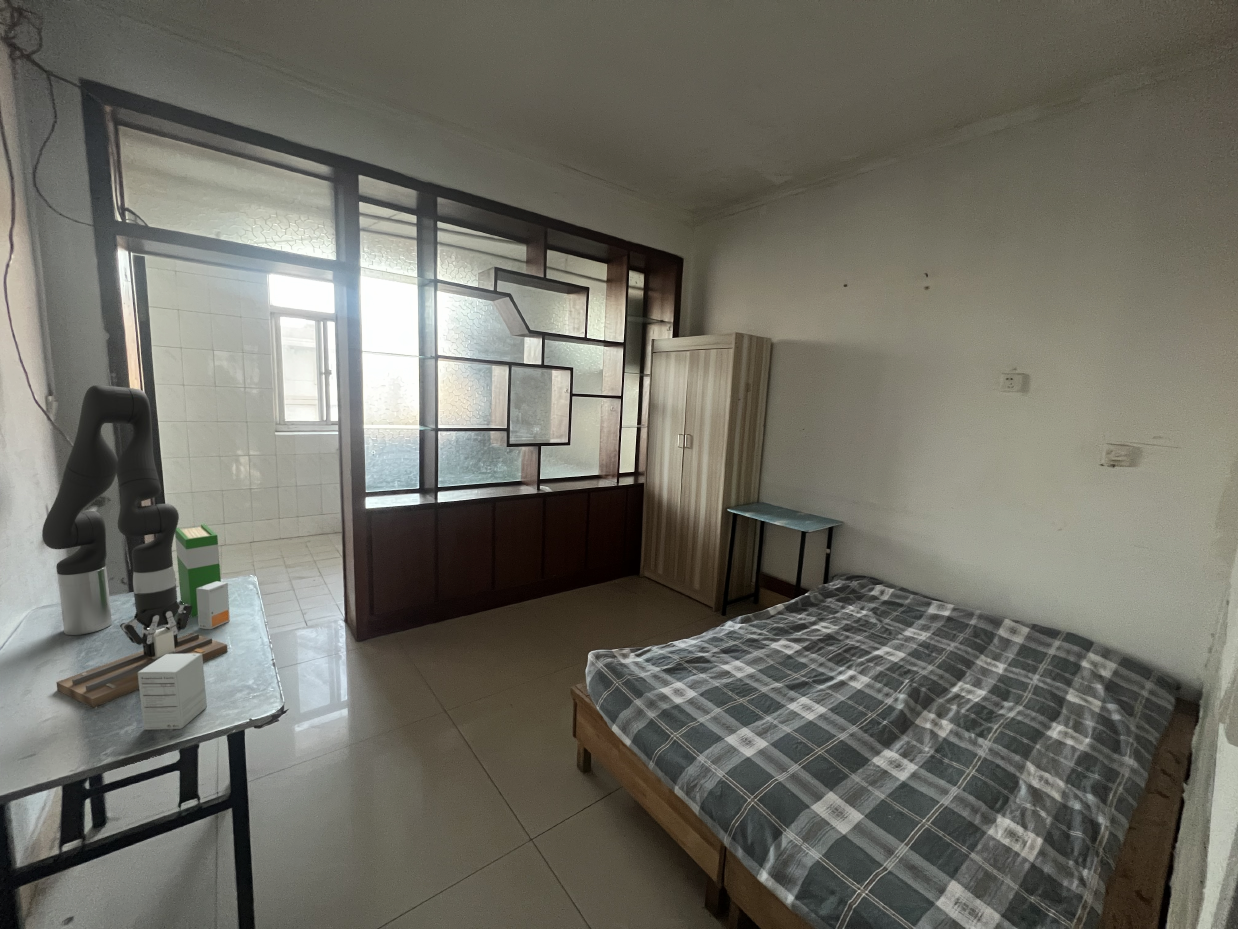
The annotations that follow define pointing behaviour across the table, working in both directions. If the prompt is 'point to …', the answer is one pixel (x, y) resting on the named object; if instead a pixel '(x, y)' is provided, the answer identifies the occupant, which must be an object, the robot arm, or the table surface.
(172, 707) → the supplement box
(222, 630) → the table surface
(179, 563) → the hardback book
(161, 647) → the fader tab
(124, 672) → the fader console
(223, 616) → the skincare box
